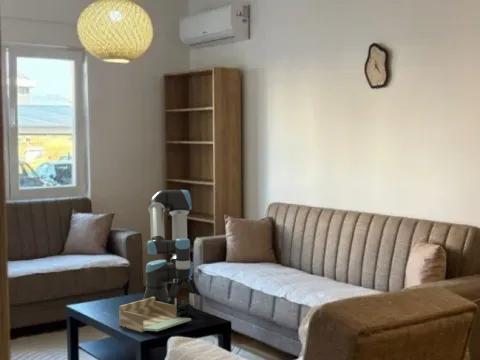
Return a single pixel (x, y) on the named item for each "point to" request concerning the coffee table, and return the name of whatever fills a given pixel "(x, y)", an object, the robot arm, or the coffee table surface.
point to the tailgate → (166, 324)
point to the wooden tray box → (145, 313)
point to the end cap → (183, 309)
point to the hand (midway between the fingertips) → (183, 308)
